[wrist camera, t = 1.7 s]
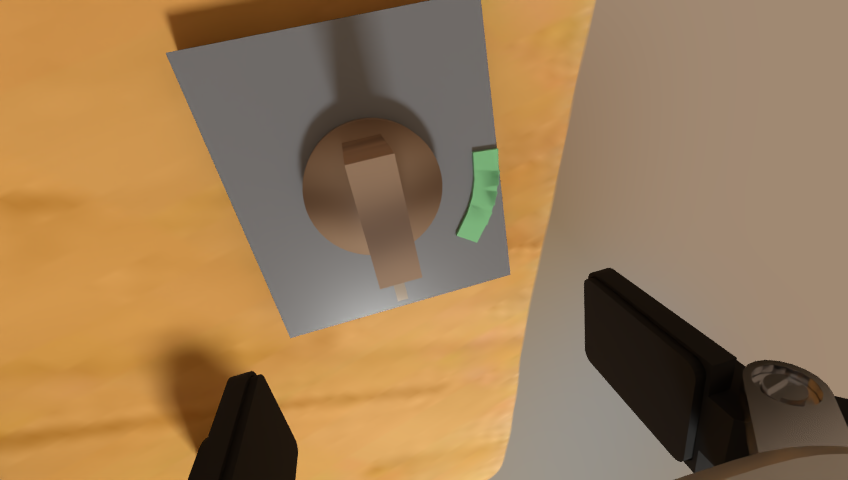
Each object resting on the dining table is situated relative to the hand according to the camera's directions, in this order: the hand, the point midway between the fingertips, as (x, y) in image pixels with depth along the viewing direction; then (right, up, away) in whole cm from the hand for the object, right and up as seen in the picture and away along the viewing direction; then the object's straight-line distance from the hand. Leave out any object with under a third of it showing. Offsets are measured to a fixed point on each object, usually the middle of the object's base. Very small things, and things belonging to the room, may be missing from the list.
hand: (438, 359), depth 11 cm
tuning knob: (-3, +5, +16) cm, 17 cm away
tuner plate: (-4, +8, +17) cm, 19 cm away
